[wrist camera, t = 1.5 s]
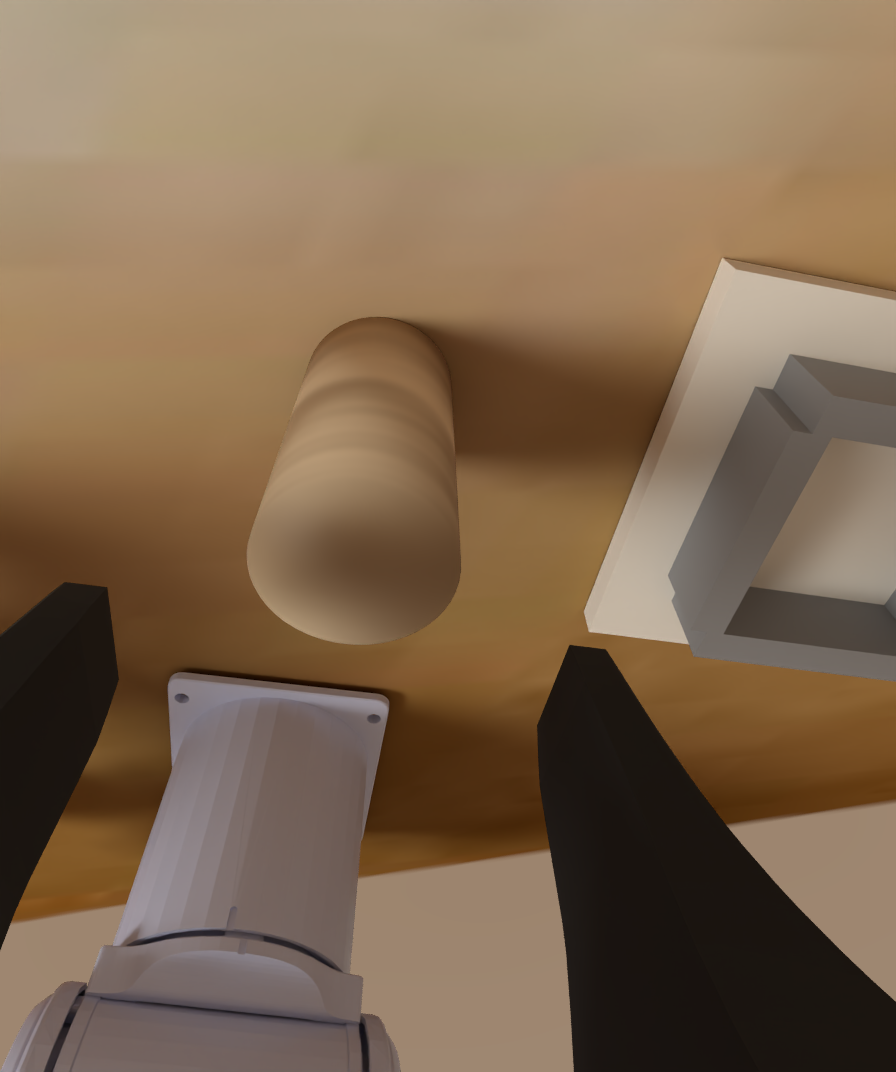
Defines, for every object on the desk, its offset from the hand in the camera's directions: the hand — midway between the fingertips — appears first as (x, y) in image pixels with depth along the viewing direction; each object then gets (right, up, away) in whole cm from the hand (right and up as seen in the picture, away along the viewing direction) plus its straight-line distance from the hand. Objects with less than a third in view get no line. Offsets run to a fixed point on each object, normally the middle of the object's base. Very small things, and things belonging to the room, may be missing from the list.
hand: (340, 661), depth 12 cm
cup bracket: (+13, +3, +11) cm, 18 cm away
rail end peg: (0, +6, +9) cm, 11 cm away
